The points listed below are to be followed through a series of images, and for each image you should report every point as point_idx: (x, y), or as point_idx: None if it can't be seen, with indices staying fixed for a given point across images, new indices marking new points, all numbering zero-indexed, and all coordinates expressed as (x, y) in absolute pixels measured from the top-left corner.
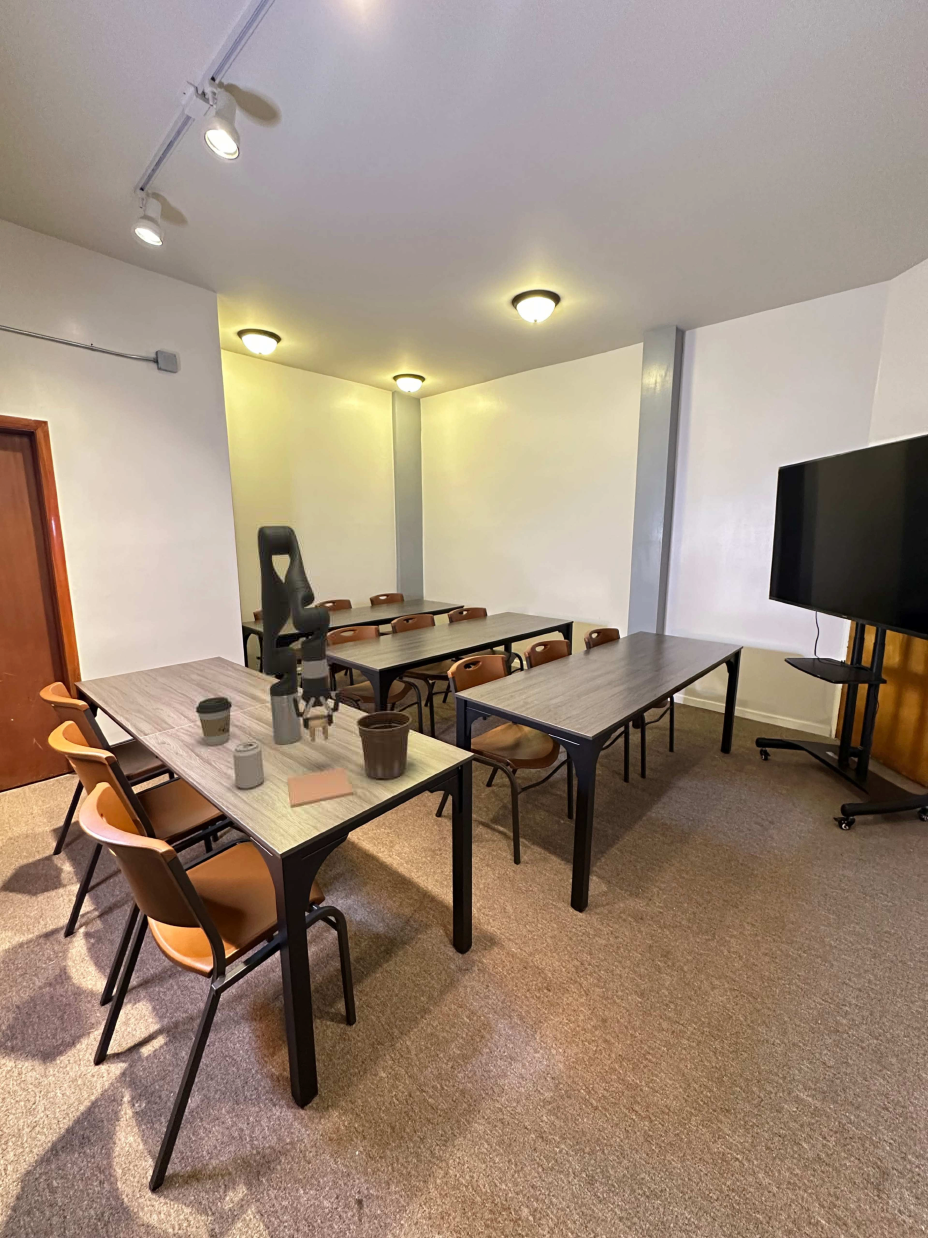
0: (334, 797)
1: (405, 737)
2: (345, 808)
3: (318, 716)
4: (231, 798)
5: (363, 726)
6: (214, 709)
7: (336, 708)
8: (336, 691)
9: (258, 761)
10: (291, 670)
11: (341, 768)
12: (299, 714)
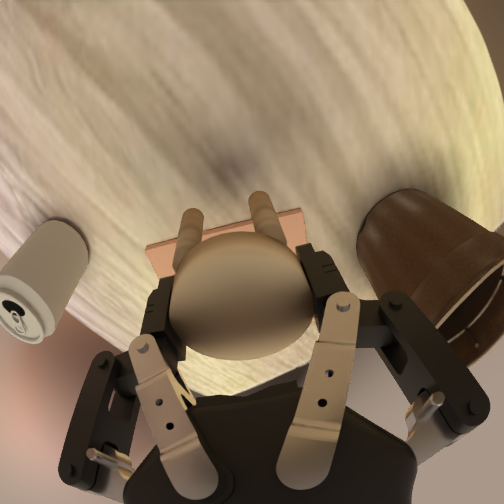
0: None
1: (474, 314)
2: (295, 349)
3: (244, 303)
4: None
5: (435, 285)
6: None
7: (389, 349)
8: (464, 434)
9: (65, 303)
10: None
11: (297, 216)
12: (137, 395)
